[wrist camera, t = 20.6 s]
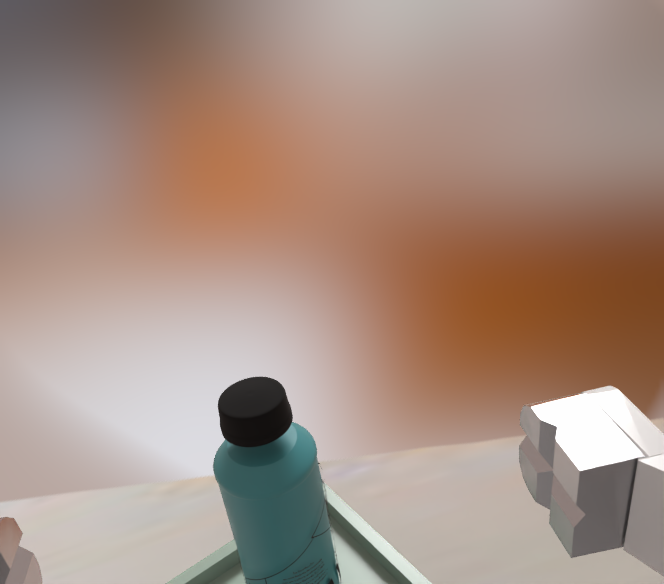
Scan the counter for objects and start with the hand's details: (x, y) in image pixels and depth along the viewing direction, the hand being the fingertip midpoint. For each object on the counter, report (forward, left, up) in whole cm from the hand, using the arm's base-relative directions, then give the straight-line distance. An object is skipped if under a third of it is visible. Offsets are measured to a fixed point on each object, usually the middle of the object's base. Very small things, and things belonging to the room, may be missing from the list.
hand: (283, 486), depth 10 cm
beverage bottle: (-8, -19, -33) cm, 39 cm away
